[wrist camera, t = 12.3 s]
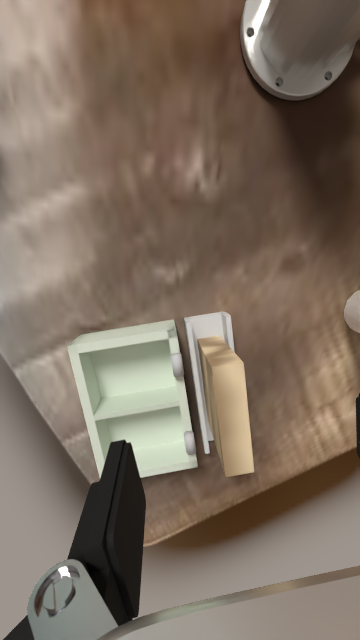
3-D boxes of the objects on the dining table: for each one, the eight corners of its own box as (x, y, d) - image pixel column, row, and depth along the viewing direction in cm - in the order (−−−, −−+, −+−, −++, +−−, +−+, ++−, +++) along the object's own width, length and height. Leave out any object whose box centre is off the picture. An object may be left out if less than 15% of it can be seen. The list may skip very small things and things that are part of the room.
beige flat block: (219, 335, 35) (243, 362, 25) (229, 417, 37) (254, 471, 27) (196, 339, 34) (211, 368, 25) (207, 421, 37) (225, 477, 27)
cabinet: (224, 311, 35) (238, 320, 29) (238, 432, 38) (253, 464, 32) (80, 334, 34) (63, 349, 28) (109, 456, 38) (99, 493, 31)
